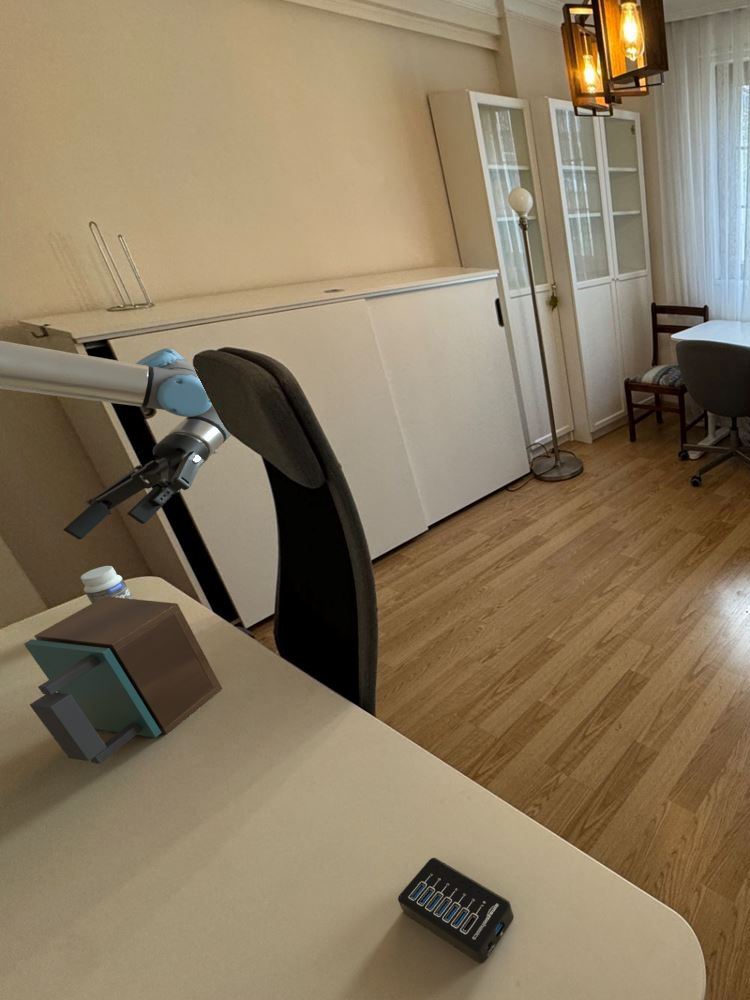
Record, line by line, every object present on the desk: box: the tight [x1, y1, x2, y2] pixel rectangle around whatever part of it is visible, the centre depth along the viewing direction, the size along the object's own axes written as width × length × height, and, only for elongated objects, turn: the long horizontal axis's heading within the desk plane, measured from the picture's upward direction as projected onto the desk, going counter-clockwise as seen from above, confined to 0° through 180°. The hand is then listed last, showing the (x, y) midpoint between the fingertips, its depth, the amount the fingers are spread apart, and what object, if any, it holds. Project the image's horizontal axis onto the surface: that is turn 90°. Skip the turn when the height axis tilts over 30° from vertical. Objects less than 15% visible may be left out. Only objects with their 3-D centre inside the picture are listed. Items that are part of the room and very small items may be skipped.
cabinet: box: [33, 596, 223, 735], centre depth 77 cm, size 12×8×16 cm, turn 82°
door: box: [23, 639, 162, 764], centre depth 70 cm, size 12×7×15 cm, turn 82°
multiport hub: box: [397, 857, 515, 964], centre depth 55 cm, size 4×11×2 cm, turn 66°
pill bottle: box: [80, 565, 135, 604], centre depth 98 cm, size 5×5×8 cm
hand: (103, 526), depth 95 cm, fingers open, 13 cm apart
